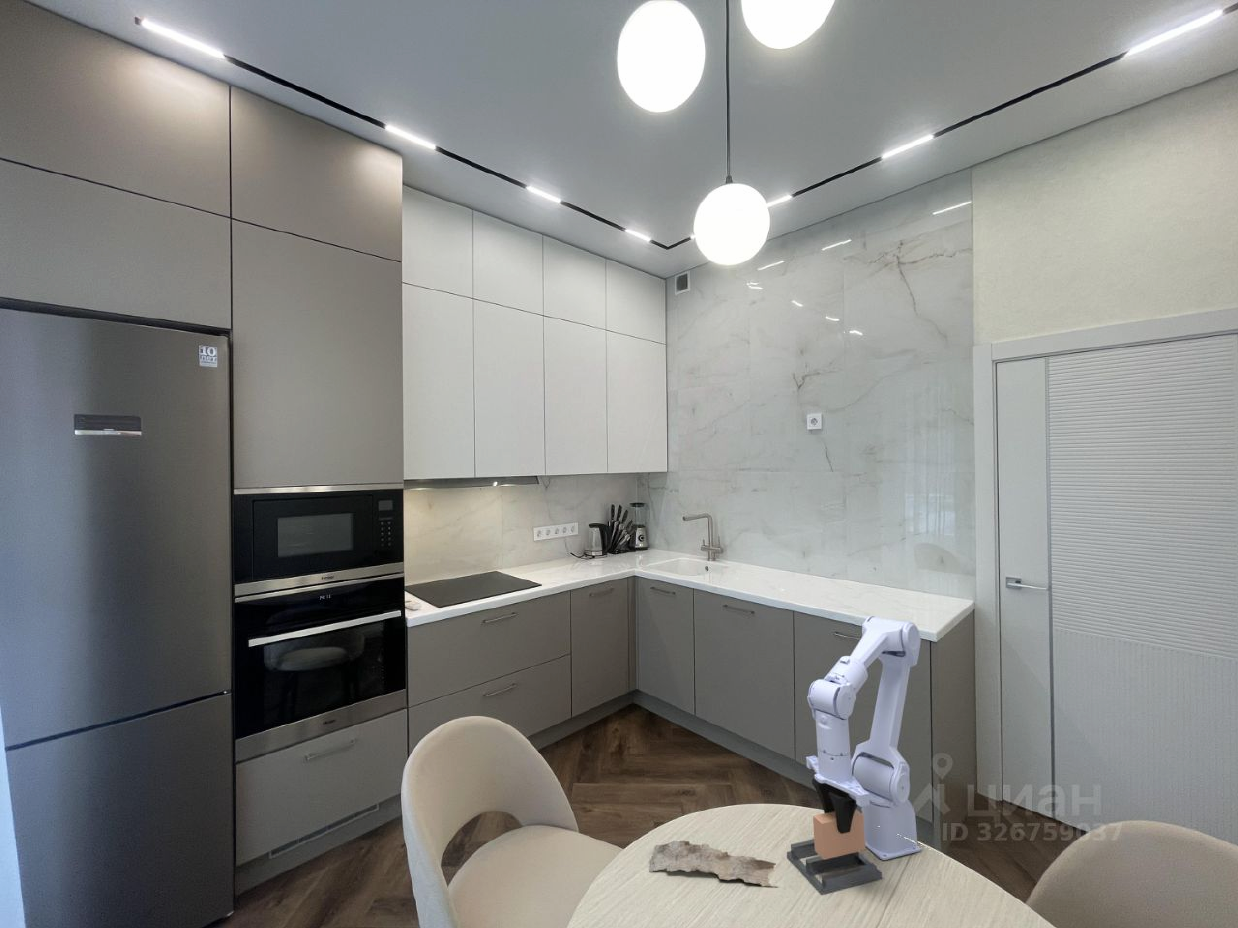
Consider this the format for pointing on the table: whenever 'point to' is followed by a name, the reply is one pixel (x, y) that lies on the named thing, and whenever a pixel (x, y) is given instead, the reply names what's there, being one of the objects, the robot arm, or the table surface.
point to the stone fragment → (710, 862)
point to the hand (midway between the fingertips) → (838, 826)
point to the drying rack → (832, 868)
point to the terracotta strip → (837, 835)
